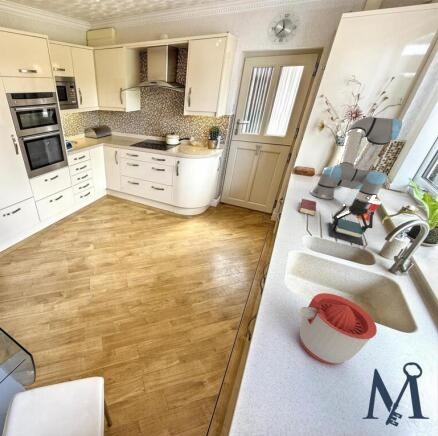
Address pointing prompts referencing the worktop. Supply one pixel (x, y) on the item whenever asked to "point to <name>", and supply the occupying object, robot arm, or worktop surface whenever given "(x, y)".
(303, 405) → the worktop surface
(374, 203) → the paper cup
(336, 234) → the rubber mat
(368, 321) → the citrus juicer
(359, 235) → the teal hardback
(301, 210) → the burgundy notebook
